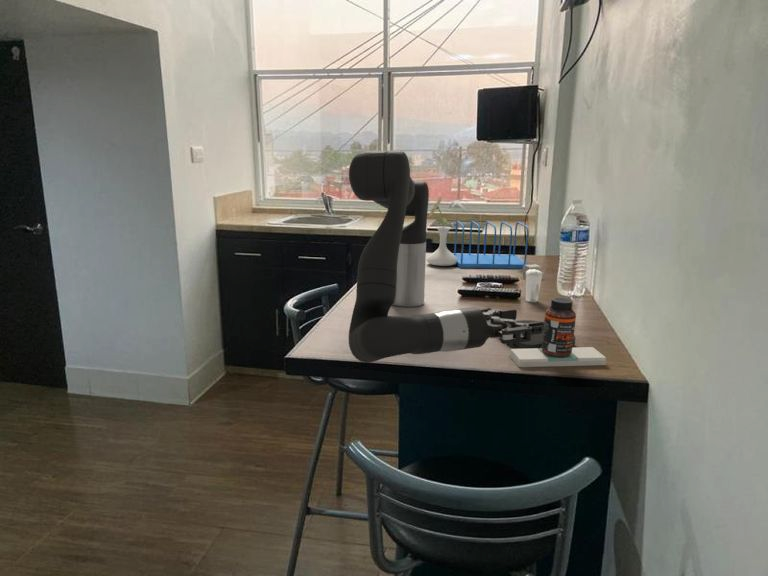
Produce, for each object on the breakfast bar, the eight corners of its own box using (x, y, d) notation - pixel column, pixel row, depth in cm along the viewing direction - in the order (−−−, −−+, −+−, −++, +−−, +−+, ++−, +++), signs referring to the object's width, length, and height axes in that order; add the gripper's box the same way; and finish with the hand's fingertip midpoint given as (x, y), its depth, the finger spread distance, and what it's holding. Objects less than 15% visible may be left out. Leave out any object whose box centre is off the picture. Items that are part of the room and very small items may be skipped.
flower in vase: (436, 260, 208) (439, 194, 202) (463, 264, 201) (466, 196, 195) (418, 266, 198) (420, 196, 191) (445, 270, 191) (448, 198, 185)
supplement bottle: (556, 360, 108) (561, 305, 105) (535, 350, 113) (539, 297, 110) (578, 355, 110) (584, 301, 108) (556, 346, 116) (561, 294, 113)
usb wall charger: (540, 278, 183) (541, 266, 182) (522, 279, 180) (523, 267, 179) (533, 275, 186) (534, 263, 185) (515, 276, 184) (516, 265, 183)
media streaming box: (582, 349, 119) (583, 336, 118) (523, 356, 115) (524, 343, 114) (543, 328, 133) (544, 317, 132) (489, 334, 128) (490, 322, 127)
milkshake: (543, 303, 152) (546, 268, 150) (523, 302, 153) (526, 267, 151) (542, 299, 157) (545, 265, 154) (523, 298, 158) (525, 264, 155)
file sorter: (458, 268, 195) (460, 226, 191) (451, 258, 212) (453, 219, 208) (528, 269, 196) (531, 226, 192) (515, 259, 213) (518, 220, 209)
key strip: (518, 367, 108) (519, 359, 108) (509, 355, 114) (509, 348, 114) (605, 365, 110) (606, 357, 110) (592, 354, 116) (592, 346, 115)
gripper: (478, 321, 93) (554, 312, 99) (438, 300, 106) (508, 293, 112) (475, 362, 95) (550, 350, 101) (437, 336, 108) (505, 327, 114)
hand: (528, 320), depth 107 cm, fingers open, 8 cm apart
